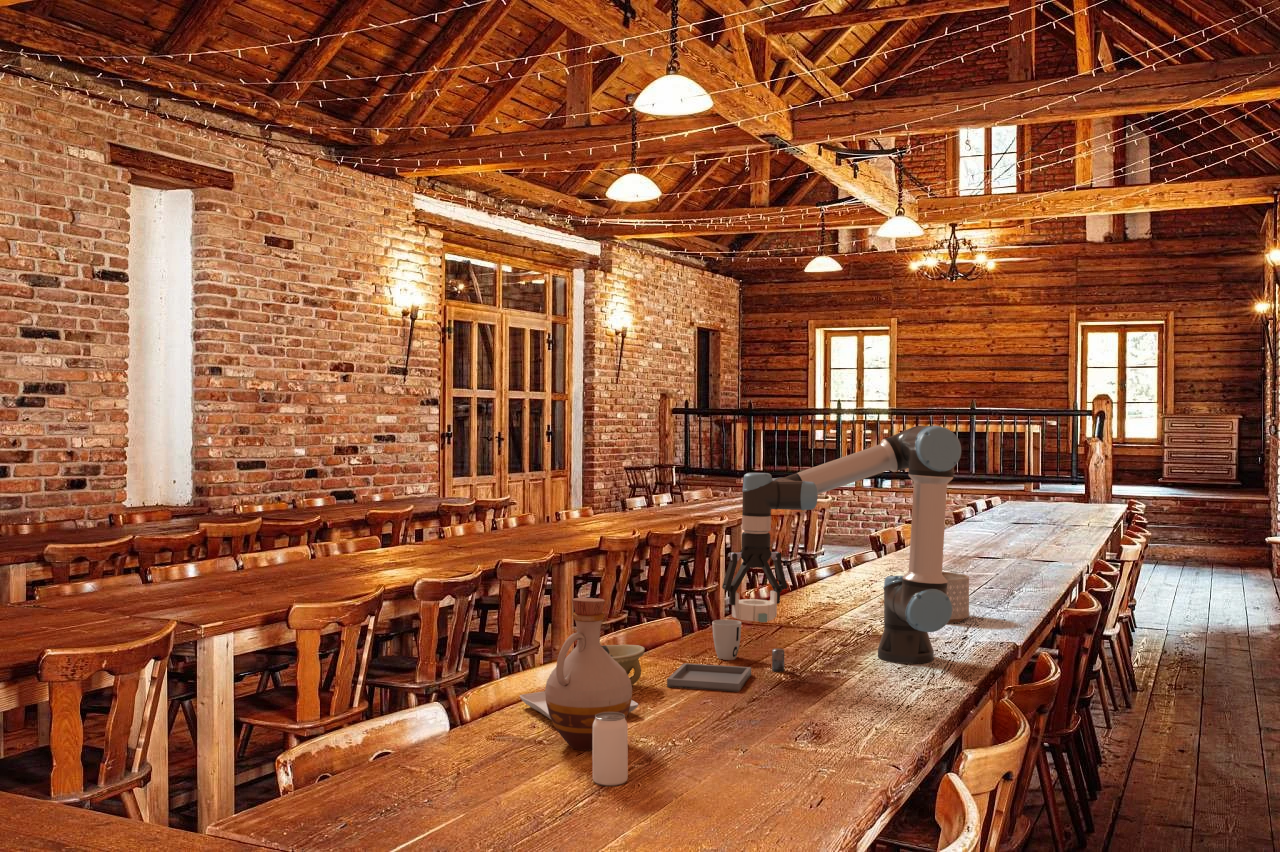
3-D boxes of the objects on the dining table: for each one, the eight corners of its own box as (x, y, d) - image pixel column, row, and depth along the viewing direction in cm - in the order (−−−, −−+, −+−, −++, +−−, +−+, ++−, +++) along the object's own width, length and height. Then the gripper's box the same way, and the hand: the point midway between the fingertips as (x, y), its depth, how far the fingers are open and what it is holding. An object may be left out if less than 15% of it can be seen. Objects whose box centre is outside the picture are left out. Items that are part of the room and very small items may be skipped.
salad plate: (553, 731, 231) (553, 715, 231) (517, 708, 250) (517, 693, 250) (641, 718, 241) (641, 703, 241) (600, 696, 260) (600, 682, 260)
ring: (764, 613, 288) (765, 598, 288) (781, 621, 277) (782, 606, 277) (729, 614, 285) (730, 599, 285) (745, 622, 274) (745, 607, 274)
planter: (975, 617, 362) (975, 574, 361) (959, 626, 346) (959, 581, 346) (921, 611, 372) (921, 570, 371) (903, 620, 356) (903, 576, 356)
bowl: (656, 682, 273) (656, 644, 273) (625, 698, 257) (625, 658, 256) (594, 675, 280) (594, 638, 280) (561, 691, 264) (561, 652, 264)
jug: (595, 766, 206) (595, 610, 206) (521, 751, 216) (521, 602, 216) (648, 740, 223) (648, 595, 223) (578, 727, 233) (578, 588, 232)
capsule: (785, 669, 286) (785, 648, 286) (783, 672, 283) (783, 651, 283) (773, 668, 287) (773, 648, 287) (771, 671, 284) (771, 650, 284)
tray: (751, 674, 280) (751, 667, 280) (738, 691, 263) (738, 683, 263) (683, 670, 285) (683, 663, 285) (667, 687, 268) (667, 679, 267)
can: (591, 775, 201) (591, 711, 201) (626, 774, 202) (626, 710, 202) (593, 787, 195) (593, 721, 195) (628, 786, 195) (628, 720, 195)
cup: (739, 661, 295) (739, 625, 295) (710, 660, 297) (710, 624, 297) (742, 655, 303) (742, 620, 303) (714, 654, 305) (714, 619, 305)
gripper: (790, 530, 288) (788, 613, 288) (710, 530, 282) (708, 615, 282) (801, 533, 281) (799, 618, 281) (720, 533, 275) (718, 620, 275)
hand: (754, 616), depth 282 cm, fingers closed on ring, 10 cm apart
